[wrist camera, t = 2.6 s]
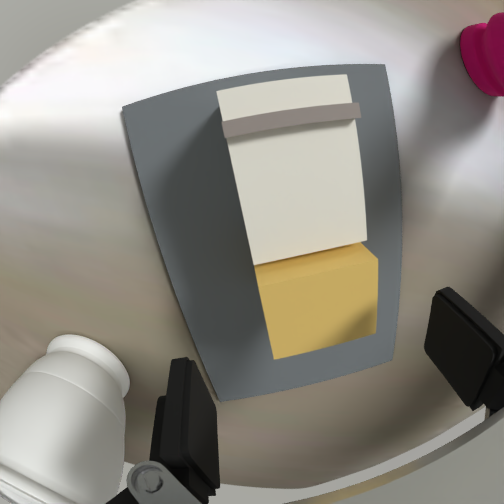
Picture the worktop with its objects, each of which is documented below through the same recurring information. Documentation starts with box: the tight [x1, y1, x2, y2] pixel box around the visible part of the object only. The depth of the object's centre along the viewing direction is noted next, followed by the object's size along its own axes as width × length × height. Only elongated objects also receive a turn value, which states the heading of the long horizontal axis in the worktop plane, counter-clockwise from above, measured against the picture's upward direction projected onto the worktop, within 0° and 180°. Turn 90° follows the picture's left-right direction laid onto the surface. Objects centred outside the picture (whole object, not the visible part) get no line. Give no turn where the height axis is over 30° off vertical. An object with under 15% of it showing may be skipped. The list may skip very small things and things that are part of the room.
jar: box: [0, 334, 130, 504], centre depth 15 cm, size 11×10×15 cm
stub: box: [254, 242, 378, 360], centre depth 15 cm, size 5×4×7 cm
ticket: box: [216, 74, 367, 265], centre depth 13 cm, size 5×7×6 cm
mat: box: [122, 64, 402, 402], centre depth 19 cm, size 16×24×1 cm, turn 11°
